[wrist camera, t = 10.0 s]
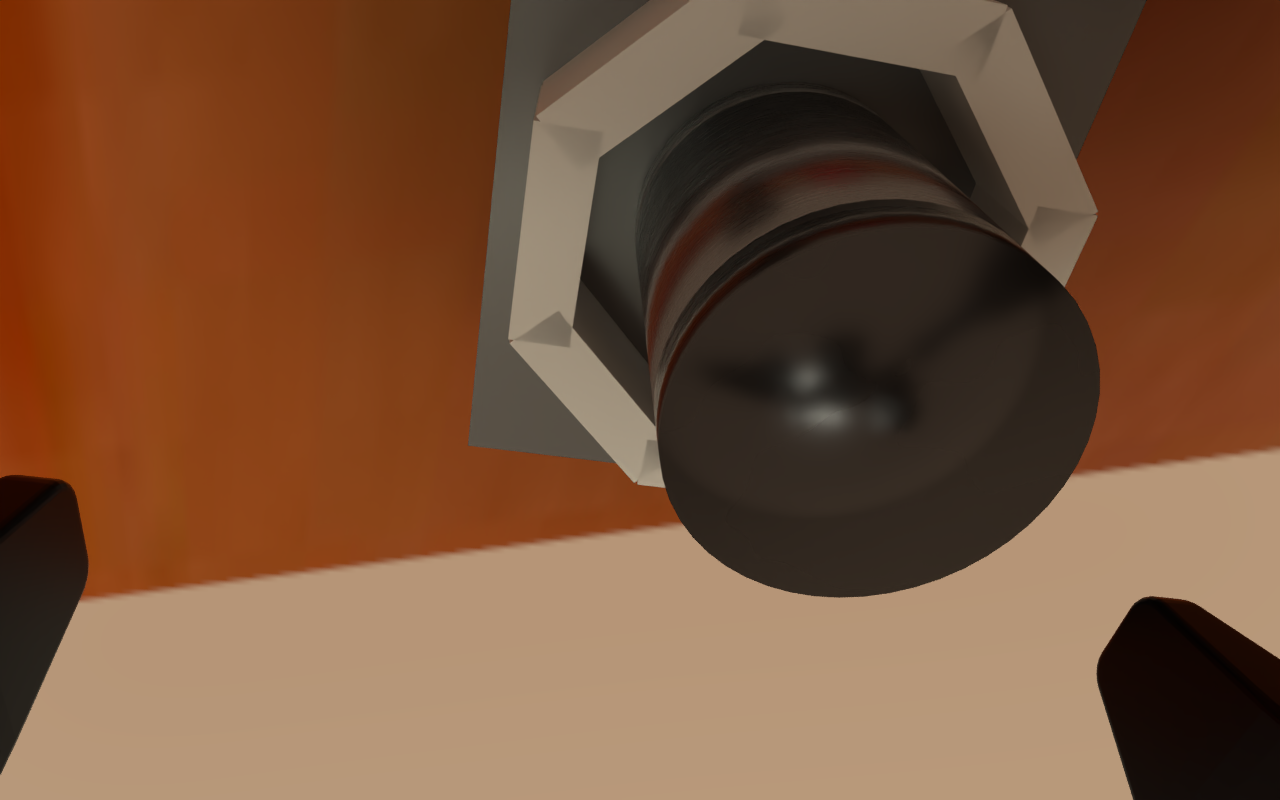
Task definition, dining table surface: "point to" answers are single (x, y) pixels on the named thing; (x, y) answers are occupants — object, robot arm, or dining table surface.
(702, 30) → the camera body
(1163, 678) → the robot arm
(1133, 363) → the dining table surface
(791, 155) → the lens
